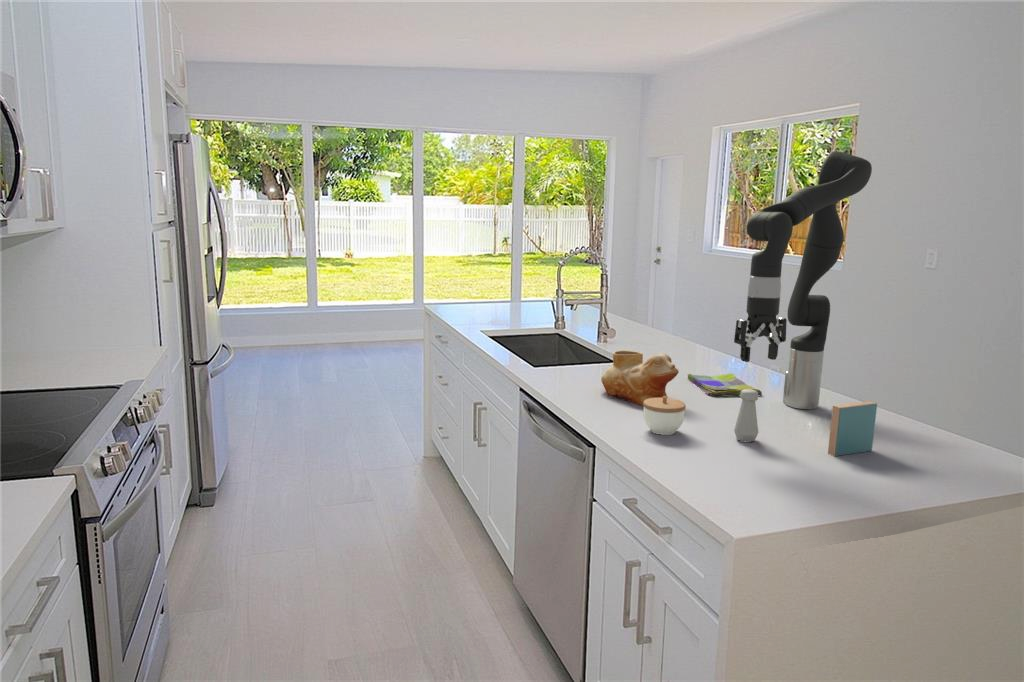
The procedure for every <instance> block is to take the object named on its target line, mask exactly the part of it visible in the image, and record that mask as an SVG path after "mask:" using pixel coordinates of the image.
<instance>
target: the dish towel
mask: <svg viewBox="0 0 1024 682" xmlns="http://www.w3.org/2000/svg"><path fill="white" fill-rule="evenodd" d="M687 379H688V380H689V381H690V382H691V383H692V384H693V385H694V384H695V385H696V386H697V387H696V386H695V385H694V386H695V387H696V388H698V387H699V388H700V389H701V390H700V389H699V388H698V389H699V390H700V391H701V392H703V393H704V392H705V393H704V394H706V395H707V396H712V395H740V393H741V391H742V390H744V389H752V390H756V391H757V392H758V395H761V396H762V395H763V394H762V391H761V390H760V389H758V388H755V387H752V386H751V385H748V384H746V382H744V381H743V380H741V379H739V378H738V377H737V376H736V375H735V374H733V373H725V374H720V375H714V376H713V375H712V376H710V375H709V376H708V375H697V374H691V373H688V374H687Z"/></svg>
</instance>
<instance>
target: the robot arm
mask: <svg viewBox="0 0 1024 682" xmlns="http://www.w3.org/2000/svg"><path fill="white" fill-rule="evenodd" d="M872 167H873V166H872V163H871V162H870V161H869V160H867V159H865V158H863V157H861V156H860V157H859V156H857V155H852V154H850V153H847V152H842V151H837V150H835V151H832V152H830V153H829V154H828V155H826V157H825V159H824V160H823V162H822V165H821V167H820V170H819V175H818V180H817V181H818V182H817V184H816V185H811V186H806V187H803V188H800V189H797V190H796V191H795V192H793V193H791V194H790V195H788V196H787V197H785V198H784V199H783V200H781V201H778V202H777V203H775V204H774V203H773V204H770V205H769V206H766V207H763V208H761V209H760V210H757V211H756V212H754V213H753V214H752V215H751V216H750V218H749V219H748V220H747V222H746V223H747V224H746V233H747V236H748V237H749V238H750V239H752V240H753V241H756V242H767V244H766V247H765V249H764V250H761V251H756V252H755V253H753V254H752V257H751V263H750V274H749V275H750V276H749V281H748V289H747V298H746V299H747V301H746V313H747V318H746V319H741V318H737V319H736V324H735V332H734V337H733V339H734V340H733V342H734V344H737V345H740V355H739V357H740V360H741V361H742V362H744V363H749V362H750V358H751V357H750V356H751V349H752V348H751V345H752V343H753V342H754V341H755V340H757V338H760V337H765V338H767V340H768V342H769V343H768V349H767V350H768V352H767V358H768V359H769V360H773V361H774V360H776V359H777V357H778V354H779V345H780V344H781V343H785V342H786V341H787V321H788V323H789V324H790V325H792V326H796V327H810V329H809V330H808V331H807V332H805V333H802V334H800V335H797V336H794V337H792V339H790V346H789V347H790V348H789V358H788V369H787V371H785V374H784V385H783V397H782V403H784V404H785V405H786V406H788V407H791V408H796V409H801V410H815V409H818V408H819V403H820V402H819V401H820V392H821V384H822V373H823V363H824V354H825V345H826V341H827V335H828V327H829V322H830V315H831V302H830V299H829V298H828V297H827V296H826V295H822V294H810V293H811V291H812V288H813V287H814V286H815V284H817V282H818V281H820V279H822V277H824V275H825V274H826V273H828V272H829V271H830V270H831V269H832V268H833V267H834V266H835V264H837V262H838V260H839V258H840V254H841V251H842V247H843V244H844V238H845V237H844V236H845V235H844V234H845V233H844V229H843V226H842V221H841V219H840V216H839V213H838V210H837V205H836V203H839V202H841V201H843V200H845V199H847V198H850V197H852V196H854V195H856V194H858V193H859V192H861V191H862V190H863V189H864V188H865V187H866V186H867V184H868V183H869V181H870V178H871V176H872V172H873V169H872ZM811 216H812V218H811V222H810V225H809V229H808V233H807V237H806V241H805V244H804V249H803V254H802V259H801V263H800V267H799V271H798V276H797V278H796V281H795V285H794V287H793V289H792V293H791V296H790V298H789V303H788V307H787V318H785V317H781V316H779V317H778V315H779V314H780V304H781V303H780V302H781V293H782V292H781V290H782V283H781V282H782V281H781V280H782V279H781V277H782V269H783V268H782V266H783V265H782V264H783V259H784V256H785V254H786V250H787V248H788V246H789V242H790V240H791V237H792V234H793V229H794V228H793V227H795V226H798V225H799V224H801V223H802V222H804V221H805V220H807V219H808V218H810V217H811Z"/></svg>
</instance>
